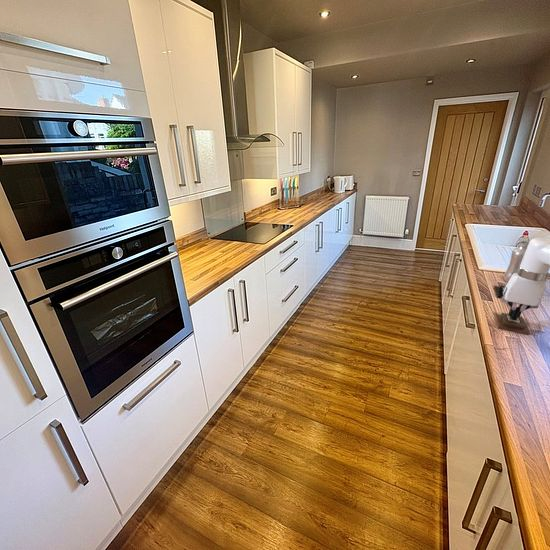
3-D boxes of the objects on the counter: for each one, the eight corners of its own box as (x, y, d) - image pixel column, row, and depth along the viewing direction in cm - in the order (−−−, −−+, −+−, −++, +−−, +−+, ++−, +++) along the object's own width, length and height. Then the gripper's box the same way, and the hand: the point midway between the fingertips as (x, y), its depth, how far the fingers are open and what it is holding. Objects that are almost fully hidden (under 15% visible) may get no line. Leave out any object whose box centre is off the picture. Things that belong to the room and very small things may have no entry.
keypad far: (520, 292, 131) (522, 286, 129) (525, 303, 123) (528, 296, 121) (493, 288, 135) (495, 282, 134) (496, 297, 127) (499, 291, 126)
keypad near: (522, 322, 110) (525, 315, 109) (528, 335, 103) (531, 328, 102) (494, 316, 114) (496, 310, 113) (498, 328, 107) (500, 322, 106)
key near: (516, 321, 109) (518, 317, 108) (518, 325, 106) (520, 322, 105) (505, 318, 110) (507, 315, 109) (507, 323, 107) (508, 319, 107)
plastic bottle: (521, 285, 136) (537, 245, 128) (504, 283, 139) (518, 244, 130) (516, 279, 142) (531, 241, 133) (500, 277, 144) (513, 239, 135)
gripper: (556, 273, 99) (535, 318, 107) (503, 265, 106) (487, 308, 114) (563, 282, 93) (540, 329, 101) (506, 274, 100) (489, 318, 108)
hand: (512, 318), depth 108 cm, fingers closed
